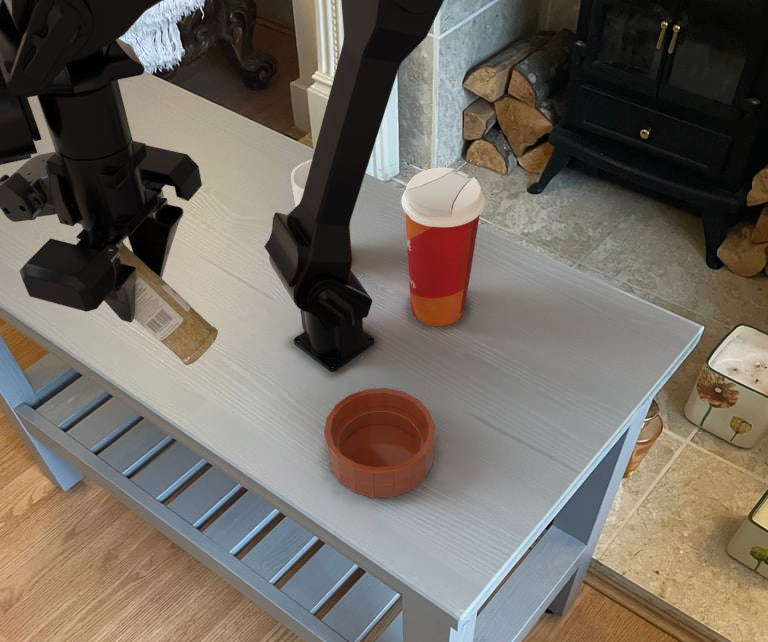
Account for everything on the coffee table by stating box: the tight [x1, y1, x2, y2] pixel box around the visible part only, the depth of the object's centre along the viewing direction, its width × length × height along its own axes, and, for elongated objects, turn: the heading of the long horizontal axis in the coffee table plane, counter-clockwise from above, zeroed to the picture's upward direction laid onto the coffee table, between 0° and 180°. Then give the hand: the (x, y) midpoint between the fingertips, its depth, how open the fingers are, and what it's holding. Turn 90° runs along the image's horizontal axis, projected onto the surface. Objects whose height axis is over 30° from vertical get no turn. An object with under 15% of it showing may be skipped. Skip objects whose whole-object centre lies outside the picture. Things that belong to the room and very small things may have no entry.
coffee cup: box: [400, 167, 486, 327], centre depth 84 cm, size 8×8×15 cm
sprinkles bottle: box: [118, 241, 219, 366], centre depth 72 cm, size 5×5×13 cm
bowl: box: [323, 387, 436, 498], centre depth 77 cm, size 10×10×4 cm
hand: (140, 304), depth 73 cm, fingers closed on sprinkles bottle, 4 cm apart
